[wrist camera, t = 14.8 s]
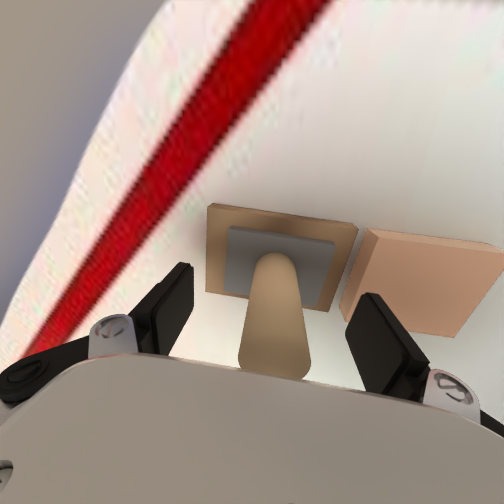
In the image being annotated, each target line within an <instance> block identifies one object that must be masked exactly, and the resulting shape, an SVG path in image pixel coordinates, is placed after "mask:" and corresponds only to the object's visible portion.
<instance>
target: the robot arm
mask: <svg viewBox="0 0 504 504" xmlns="http://www.w3.org/2000/svg"><path fill="white" fill-rule="evenodd" d="M193 307H194V268H193V267H192V266H191V265H190V263H183V262H179V263H178V264H177V265H176V266H175V267H174V268H173V269H172V270H171V271H170V272H169V274H168V275H167V276H166V277H165V278H164V279H163V280H162V281H161V282H160V283H157V284H156V285H155V286H154V287H153V288H152V290H151V291H150V292H149V293H148V294H147V295H146V296H145V297H144V298H143V299H142V300H141V301H140V302H139V303H138V304H137V305H136V307H135V308H134V309H133V310H132V311H131V312H130V313H129V314H128V315H125V314H115V315H110V316H108V317H105V318H103V319H101V320H99V321H98V322H97V323H96V324H94V326H93V327H92V328H91V330H90V333H89V335H88V336H85V337H83V338H80V339H77V340H74V341H71V342H68V343H65V344H62V345H60V346H57V347H54V348H51V349H48V350H45V351H42V352H39V353H36V354H34V355H31V356H28V357H26V358H23V359H21V360H19V361H17V362H15V363H14V364H12V365H10V366H9V367H8V368H6V369H5V370H4V371H3V372H2V373H1V374H0V504H504V425H503V424H501V423H500V422H498V421H497V420H495V419H494V418H492V417H491V416H489V415H488V414H486V413H485V412H483V411H482V410H480V404H479V401H478V398H477V396H476V395H475V393H474V392H473V391H472V390H471V389H470V388H469V387H468V386H467V385H466V384H465V383H464V382H463V381H461V380H460V379H458V378H457V377H455V376H454V375H452V374H450V373H448V372H446V371H443V370H439V369H433V370H431V369H430V367H429V366H428V364H429V363H430V361H429V360H428V359H427V357H426V356H425V355H424V353H423V352H422V351H421V349H420V348H419V347H418V345H417V344H416V343H415V341H414V340H413V339H412V337H411V336H410V335H409V333H408V332H407V331H406V329H405V328H404V327H403V325H402V324H401V323H400V321H399V320H398V319H397V317H396V316H395V315H394V313H393V312H392V311H391V309H390V308H389V307H388V305H387V304H386V303H385V301H384V300H383V299H382V297H381V296H380V295H379V294H377V293H370V292H366V293H365V294H362V295H361V296H360V299H359V301H358V303H357V305H356V308H355V310H354V312H353V315H352V317H351V319H350V321H349V324H348V326H347V328H346V331H345V337H346V340H347V342H348V345H349V348H350V350H351V353H352V355H353V358H354V361H355V363H356V366H357V368H358V371H359V374H360V376H361V379H362V381H363V384H364V387H365V389H366V391H360V390H355V389H350V388H345V387H339V386H334V385H329V384H323V383H318V382H313V381H307V380H302V379H296V378H291V377H286V376H280V375H275V374H269V373H264V372H258V371H253V370H247V369H241V368H236V367H230V366H224V365H219V364H213V363H207V362H202V361H196V360H190V359H184V358H177V357H171V356H168V355H169V353H170V351H171V349H172V347H173V345H174V344H175V342H176V340H177V338H178V336H179V334H180V333H181V331H182V329H183V327H184V325H185V323H186V322H187V320H188V318H189V316H190V314H191V312H192V310H193Z"/></svg>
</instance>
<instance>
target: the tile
mask: <svg viewBox="0 0 504 504" xmlns="http://www.w3.org/2000/svg"><path fill="white" fill-rule="evenodd" d="M503 270H504V250H502V249H499V248H497V247H494V246H492V245H489V244H487V243H479V242H471V241H463V240H455V239H448V238H440V237H432V236H424V235H416V234H408V233H401V232H393V231H385V230H377V229H369V228H367V230H366V233H365V236H364V239H363V241H362V244H361V247H360V249H359V252H358V255H357V258H356V260H355V263H354V266H353V269H352V271H351V274H350V277H349V280H348V282H347V285H346V288H345V291H344V293H343V296H342V299H341V302H340V304H339V308H340V310H341V312H342V315H343V317H344V319H345V322H349V321H350V319H351V317H352V315H353V312H354V310H355V308H356V305H357V303H358V301H359V299H360V296H361V295H362V294H365V293H366V292H370V293H377V294H379V295H380V296H381V297H382V299H383V300H384V301H385V303H386V304H387V305H388V307H389V308H390V309H391V311H392V312H393V313H394V315H395V316H396V317H397V319H398V320H399V321H400V323H401V324H402V325H403V327H404V328H405V329H406V331H411V332H418V333H424V334H431V335H437V336H444V337H450V338H454V337H455V335H456V334H457V332H458V331H459V330H460V328H461V327H462V326H463V324H464V323H465V322H466V320H467V319H468V318H469V316H470V315H471V313H472V312H473V311H474V309H475V308H476V307H477V305H478V304H479V303H480V301H481V300H482V299H483V297H484V296H485V295H486V293H487V292H488V290H489V289H490V288H491V286H492V285H493V284H494V282H495V281H496V280H497V278H498V277H499V276H500V274H501V273H502V271H503Z"/></svg>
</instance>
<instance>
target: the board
mask: <svg viewBox="0 0 504 504" xmlns="http://www.w3.org/2000/svg"><path fill="white" fill-rule="evenodd" d="M230 226H238V227H244V228H250V229H257V230H263V231H269V232H276V233H282V234H288V235H295V236H301V237H307V238H314V239H320V240H326V241H333V242H334V244H335V245H336V249H335V252H334V255H333V258H332V261H331V264H330V267H329V269H328V272H327V275H326V278H325V281H324V284H323V287H322V290H321V293H320V296H319V299H318V302H317V305H316V307H312V306H306V305H302V308H306V309H312V310H318V311H324V312H328V311H329V309H330V306H331V303H332V301H333V298H334V295H335V292H336V290H337V287H338V284H339V282H340V279H341V276H342V273H343V271H344V268H345V265H346V262H347V260H348V257H349V254H350V252H351V249H352V246H353V243H354V241H355V238H356V235H357V233H358V230H359V229H358V228H357V227H356V226H354V225H353V224H351V223H344V222H337V221H330V220H323V219H316V218H309V217H303V216H296V215H289V214H282V213H275V212H268V211H261V210H254V209H248V208H241V207H234V206H227V205H220V204H213V203H212V204H211V205H210V206H208V207H207V245H206V287H205V292H210V293H216V294H222V295H228V296H234V297H240V298H246V299H249V297H250V296H248V295H242V294H237V293H231V292H225V291H223V290H224V278H225V265H226V253H227V241H228V229H229V228H230Z"/></svg>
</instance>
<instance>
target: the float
mask: <svg viewBox="0 0 504 504" xmlns="http://www.w3.org/2000/svg"><path fill="white" fill-rule="evenodd" d="M335 249H336V245H335V244H334V242H333V241H326V240H320V239H314V238H307V237H301V236H295V235H288V234H282V233H276V232H269V231H263V230H257V229H250V228H244V227H238V226H230V228H229V229H228V241H227V253H226V265H225V278H224V290H223V291H225V292H231V293H237V294H242V295H248V296H250V297H249V302H248V307H247V312H246V317H245V323H244V328H243V333H242V338H241V343H240V349H239V354H238V362H239V365H240V367H241V369H247V370H253V371H258V372H264V373H269V374H275V375H280V376H286V377H291V378H296V379H302V378H303V377H304V376H305V375H306V374H307V373H308V372H309V370H310V367H311V358H310V353H309V347H308V341H307V335H306V329H305V323H304V317H303V311H302V305H306V306H312V307H316V305H317V302H318V299H319V296H320V293H321V290H322V287H323V284H324V281H325V278H326V275H327V272H328V269H329V267H330V264H331V261H332V258H333V255H334V252H335Z"/></svg>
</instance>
